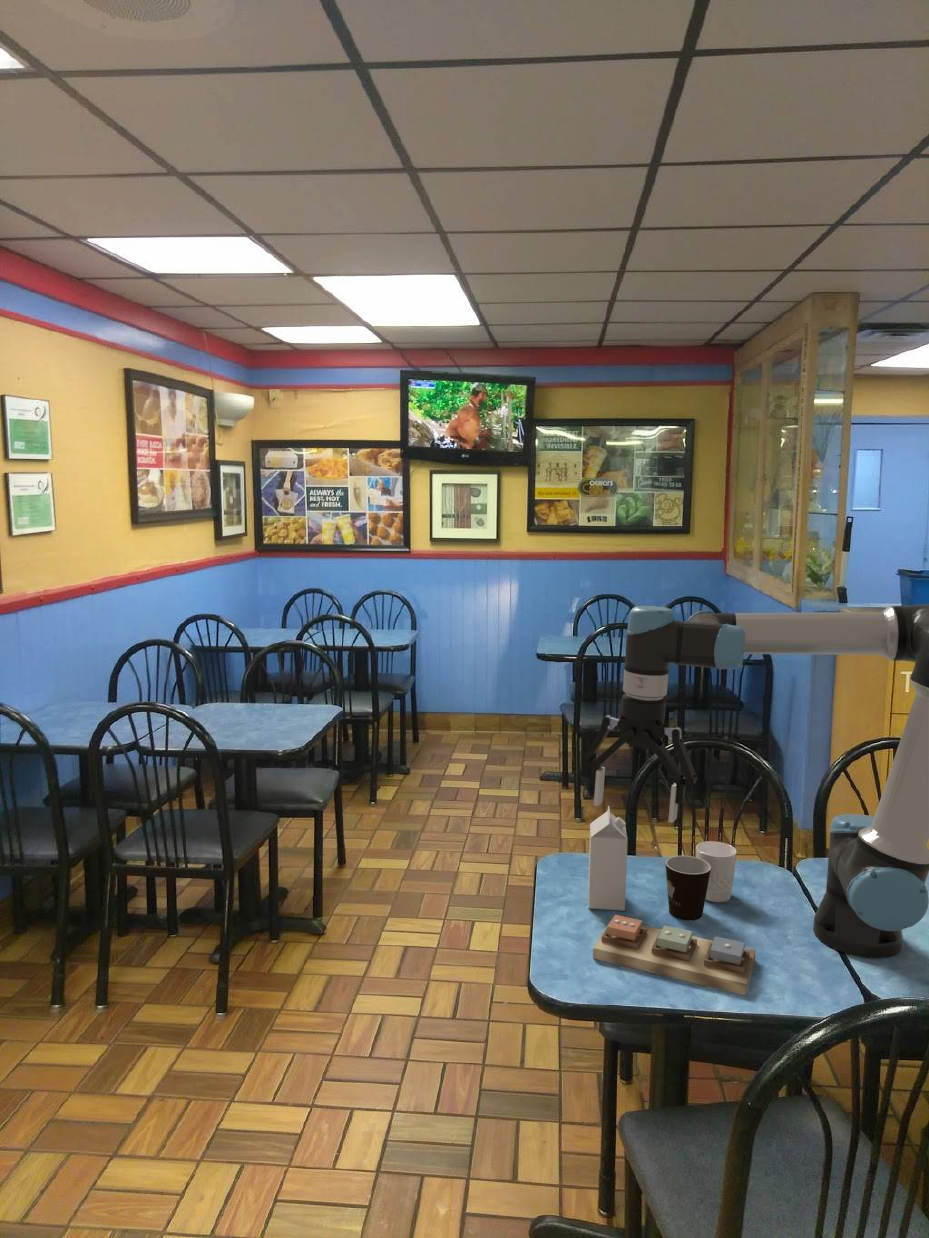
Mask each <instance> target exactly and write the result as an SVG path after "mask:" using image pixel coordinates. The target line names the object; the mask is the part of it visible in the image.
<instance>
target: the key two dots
mask: <svg viewBox="0 0 929 1238" xmlns="http://www.w3.org/2000/svg"><path fill="white" fill-rule="evenodd" d="M692 936H693V931H692V930H688V929H683V928H677V927H673V926H668V925H663V926H662V930H661V932H660V934H659V936H658V941H657V946H660V947H664V948H669V949H673V950H677V951H682V952H687V949H688V947H689V945H690V943H691V940H692Z"/></svg>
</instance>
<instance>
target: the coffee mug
mask: <svg viewBox="0 0 929 1238" xmlns="http://www.w3.org/2000/svg"><path fill="white" fill-rule="evenodd" d="M664 864H665V875H666V877H665V878H666V888H667V889H666V890H667V902H668V903H667V904H668V913H669V914H670V915H671V916H672V917H673V918H675V919H677V920H680V921H686V922H692V921H693V922H694V921H698V920H700V919H702V917H703V914H704V909H705V903H706V900H705V899H706V893H707V887H708V882H709V876H710V871H711V866H710V864H709V863H708V862H706V861H705V860H702V859H700V858H696V856H691V855H674V856H671V857H667V859H666V860H665V863H664Z"/></svg>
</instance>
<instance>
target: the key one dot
mask: <svg viewBox="0 0 929 1238" xmlns="http://www.w3.org/2000/svg"><path fill="white" fill-rule="evenodd" d="M712 941H713V944H712V947H711V949H710V958H713V959H717V960H721V961H726V962H730V963H734V964H739V965H740V964H741V961H742V957H743V954H744V951H745V948H746V946H745V945H746V943H745V942H743V941H738V940H734V939H728V938H724V937H719V936H715V937H714V939H713V940H712Z"/></svg>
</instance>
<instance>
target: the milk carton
mask: <svg viewBox="0 0 929 1238" xmlns="http://www.w3.org/2000/svg"><path fill="white" fill-rule="evenodd" d="M626 825H627V823H626V822H625V820H624V819H622V818H621V817H620V816H617V817H616V816H615V815H614V814H613V813H612V812H611V811H610V806H609V805H607V810H606V812H604V813H603V814H601V815H600V816H599V817H597V818H596V819H595V820H593V821H592V822H591V823H590V825H589V844H588V845H589V846H588V847H589V848H588V849H589V850H588V852H589V853H588V879H587V880H588V881H587V901H588V903H587V904H588V909H593V910H605V911H606V910H608V911H609V910H610V911H623V912H624V911H626V893H627V863H628V861H627V859H628V834H627V829H626V828H627V827H626Z"/></svg>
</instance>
